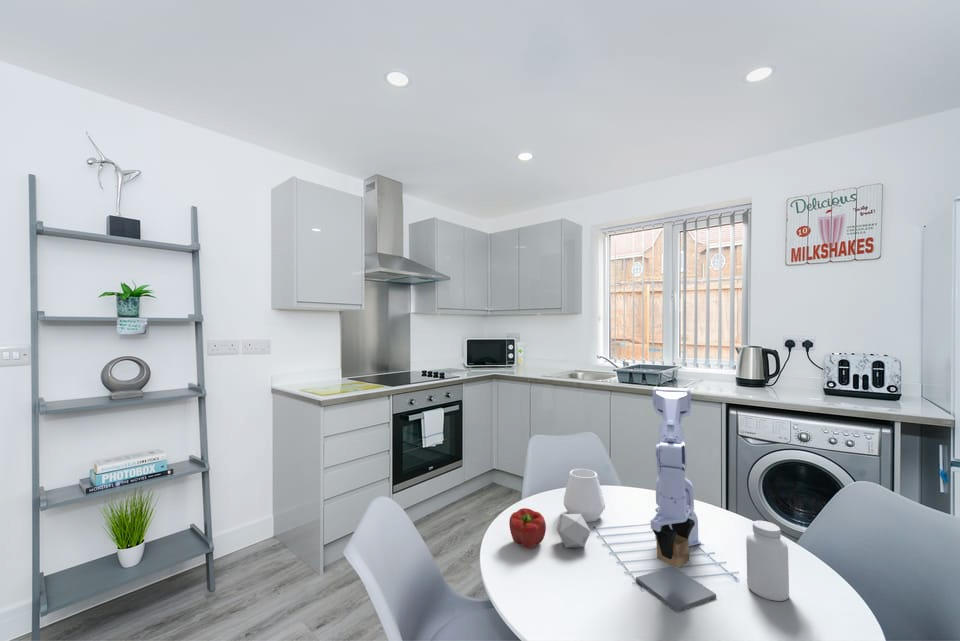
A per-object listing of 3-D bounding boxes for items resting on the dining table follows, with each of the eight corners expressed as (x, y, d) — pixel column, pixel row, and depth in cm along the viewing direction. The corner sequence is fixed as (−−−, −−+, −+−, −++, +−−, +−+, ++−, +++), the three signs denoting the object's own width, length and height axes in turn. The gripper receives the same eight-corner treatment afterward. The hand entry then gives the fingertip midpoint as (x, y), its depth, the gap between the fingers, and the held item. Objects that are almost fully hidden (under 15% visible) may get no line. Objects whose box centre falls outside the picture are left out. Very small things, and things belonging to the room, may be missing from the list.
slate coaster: (673, 569, 103) (672, 566, 103) (716, 597, 91) (716, 593, 91) (635, 580, 98) (635, 577, 98) (676, 611, 87) (676, 608, 87)
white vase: (611, 525, 127) (609, 480, 127) (568, 525, 127) (567, 480, 127) (598, 506, 140) (598, 466, 140) (560, 507, 140) (559, 466, 141)
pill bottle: (791, 607, 88) (789, 537, 89) (747, 594, 92) (745, 528, 93) (787, 587, 95) (785, 522, 95) (746, 576, 99) (744, 514, 100)
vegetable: (548, 555, 110) (547, 518, 110) (510, 555, 110) (509, 518, 110) (543, 535, 120) (543, 501, 121) (509, 535, 121) (508, 501, 121)
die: (583, 559, 109) (599, 523, 112) (554, 540, 110) (569, 505, 114) (576, 554, 117) (591, 521, 120) (548, 536, 118) (563, 504, 122)
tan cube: (669, 552, 99) (668, 531, 99) (689, 561, 94) (688, 539, 95) (657, 558, 96) (656, 537, 96) (677, 568, 92) (676, 545, 92)
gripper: (673, 482, 103) (674, 537, 102) (638, 496, 95) (639, 555, 94) (701, 491, 97) (703, 549, 96) (666, 506, 89) (668, 569, 88)
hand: (673, 553), depth 95 cm, fingers closed on tan cube, 5 cm apart
